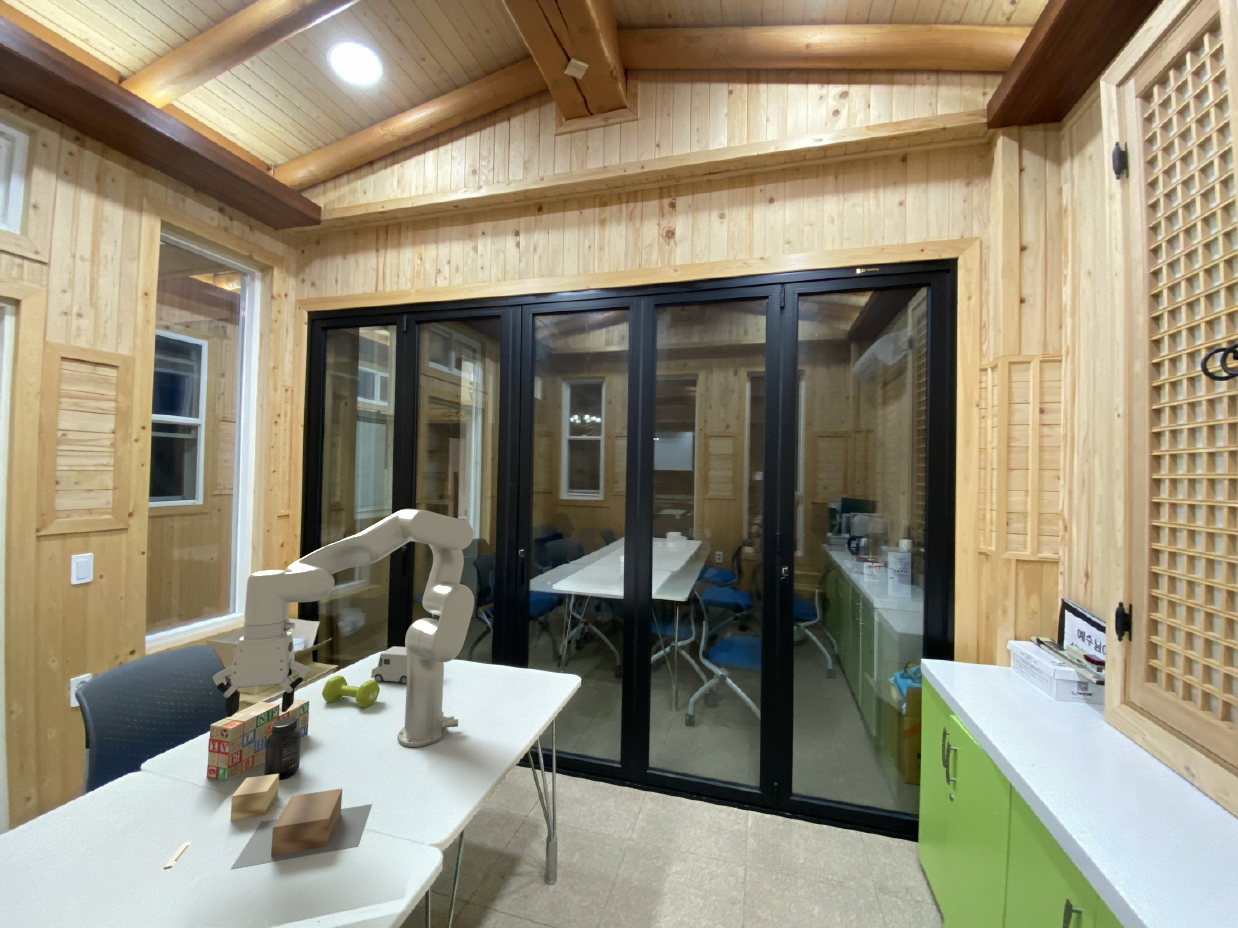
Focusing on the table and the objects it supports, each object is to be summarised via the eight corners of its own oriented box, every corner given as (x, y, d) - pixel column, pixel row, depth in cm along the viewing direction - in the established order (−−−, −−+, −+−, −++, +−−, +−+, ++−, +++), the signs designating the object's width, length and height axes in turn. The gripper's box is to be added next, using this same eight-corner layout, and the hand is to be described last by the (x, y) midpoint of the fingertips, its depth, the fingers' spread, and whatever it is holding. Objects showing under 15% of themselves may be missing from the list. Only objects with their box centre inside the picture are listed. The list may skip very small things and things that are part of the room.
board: (371, 809, 98) (371, 803, 98) (357, 852, 87) (358, 846, 87) (260, 827, 92) (261, 821, 92) (230, 876, 81) (230, 868, 81)
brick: (340, 813, 95) (342, 788, 95) (327, 845, 87) (328, 818, 87) (290, 821, 92) (291, 795, 93) (270, 855, 84) (272, 827, 84)
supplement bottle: (302, 762, 114) (305, 712, 115) (294, 779, 108) (297, 726, 108) (269, 768, 111) (272, 717, 112) (259, 785, 105) (262, 731, 106)
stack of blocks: (289, 731, 128) (292, 686, 129) (308, 734, 127) (311, 689, 127) (205, 778, 107) (209, 723, 108) (226, 782, 106) (230, 727, 107)
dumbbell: (381, 700, 148) (383, 677, 148) (362, 712, 140) (363, 688, 140) (339, 694, 152) (340, 671, 152) (318, 705, 144) (319, 681, 144)
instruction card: (234, 835, 90) (234, 833, 90) (217, 858, 84) (217, 857, 84) (184, 843, 88) (184, 841, 88) (163, 868, 82) (163, 866, 82)
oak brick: (277, 802, 100) (279, 773, 100) (265, 821, 94) (267, 790, 94) (244, 806, 98) (246, 777, 98) (229, 826, 92) (232, 795, 93)
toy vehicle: (384, 672, 170) (385, 645, 170) (430, 675, 168) (431, 648, 168) (368, 682, 161) (370, 653, 161) (417, 686, 159) (419, 656, 160)
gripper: (318, 622, 105) (312, 699, 104) (227, 626, 100) (220, 707, 99) (305, 632, 97) (299, 715, 96) (207, 637, 93) (200, 724, 92)
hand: (259, 711), depth 98 cm, fingers open, 9 cm apart
